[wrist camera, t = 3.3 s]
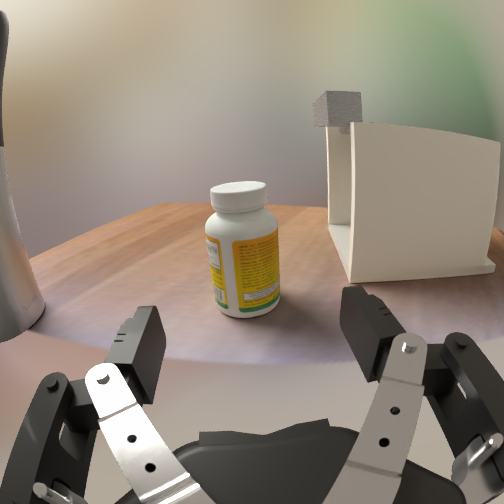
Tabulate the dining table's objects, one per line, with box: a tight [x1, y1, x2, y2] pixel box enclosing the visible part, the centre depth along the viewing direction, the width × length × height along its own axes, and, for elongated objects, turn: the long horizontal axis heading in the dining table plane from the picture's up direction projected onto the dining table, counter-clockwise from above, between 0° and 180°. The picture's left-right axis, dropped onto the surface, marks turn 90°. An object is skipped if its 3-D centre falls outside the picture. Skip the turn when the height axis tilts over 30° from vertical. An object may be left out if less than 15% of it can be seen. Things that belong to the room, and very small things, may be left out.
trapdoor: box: [313, 91, 362, 135], centre depth 25 cm, size 16×12×4 cm
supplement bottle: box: [205, 181, 280, 318], centre depth 22 cm, size 5×5×10 cm
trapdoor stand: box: [326, 122, 500, 283], centre depth 28 cm, size 18×15×14 cm
